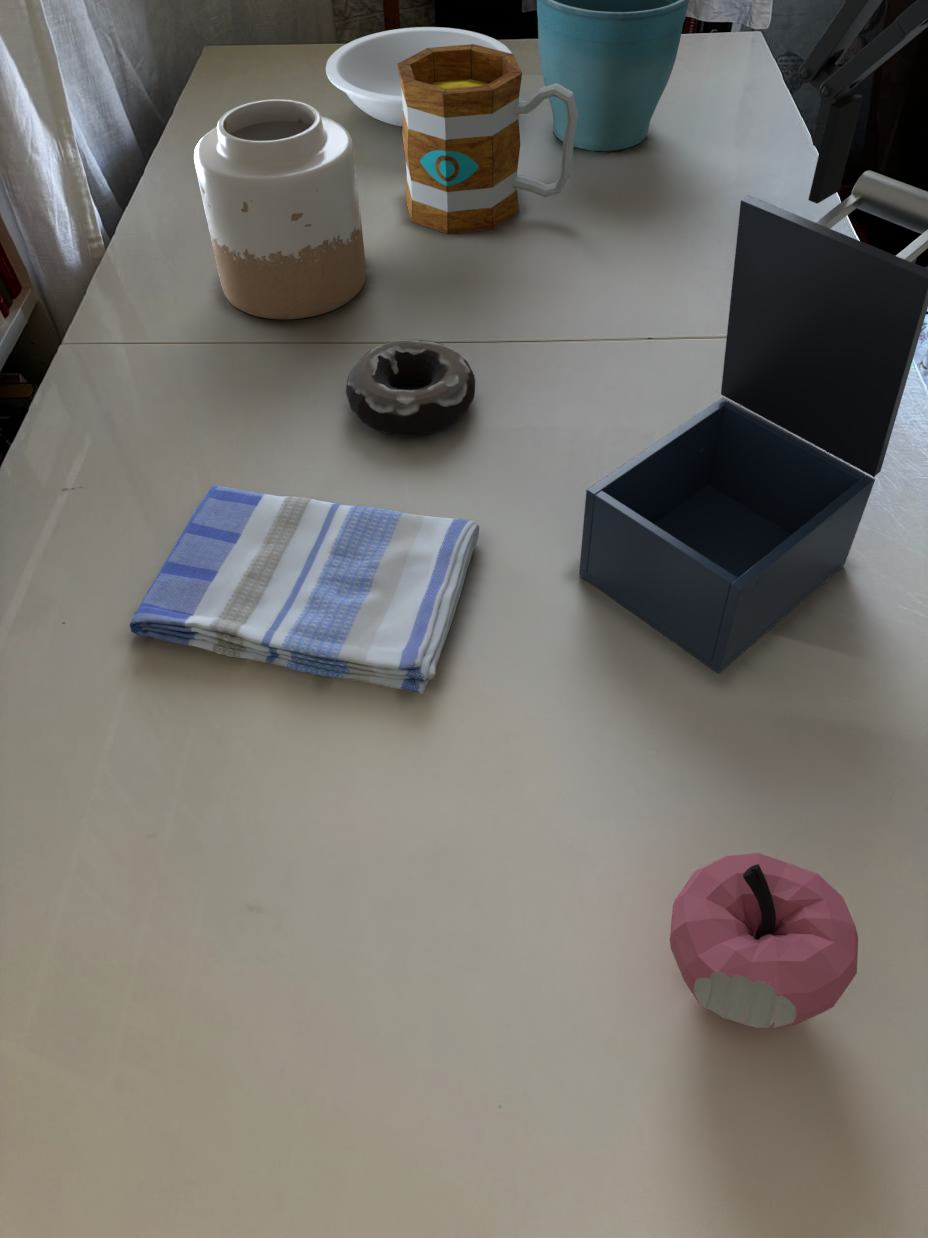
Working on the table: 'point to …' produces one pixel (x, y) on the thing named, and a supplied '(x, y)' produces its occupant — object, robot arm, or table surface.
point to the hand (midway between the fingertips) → (909, 229)
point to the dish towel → (313, 586)
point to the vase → (282, 209)
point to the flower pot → (608, 64)
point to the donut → (417, 407)
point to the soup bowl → (390, 65)
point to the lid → (827, 320)
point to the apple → (763, 941)
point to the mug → (469, 137)
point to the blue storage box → (721, 530)
